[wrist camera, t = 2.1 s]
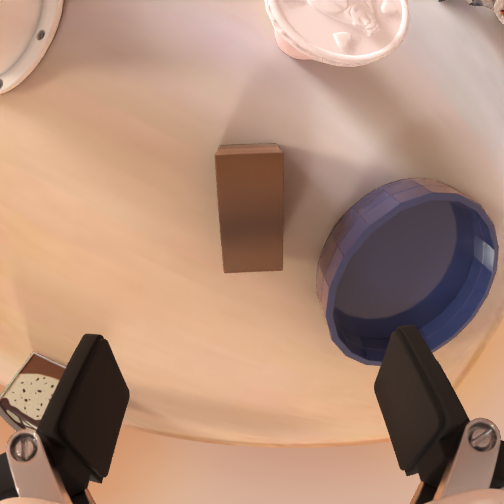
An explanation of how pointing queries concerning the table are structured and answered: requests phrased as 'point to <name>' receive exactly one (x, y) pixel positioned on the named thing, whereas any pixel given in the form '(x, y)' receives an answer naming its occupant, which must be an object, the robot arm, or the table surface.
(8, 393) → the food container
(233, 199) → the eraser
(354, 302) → the bowl
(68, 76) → the table surface
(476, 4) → the meal
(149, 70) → the table surface
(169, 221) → the table surface
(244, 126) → the table surface
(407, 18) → the smoothie
